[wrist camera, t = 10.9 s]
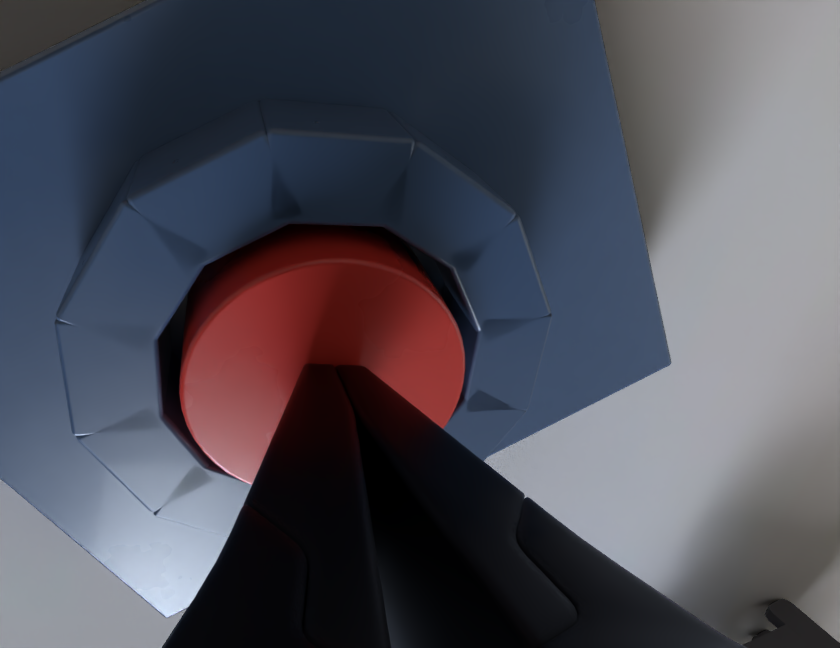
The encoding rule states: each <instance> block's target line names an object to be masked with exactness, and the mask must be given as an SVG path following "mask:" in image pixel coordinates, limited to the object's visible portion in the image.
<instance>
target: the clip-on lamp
mask: <svg viewBox="0 0 840 648" xmlns="http://www.w3.org/2000/svg"><path fill="white" fill-rule="evenodd" d="M765 616H766V618H767V619H768V620H769V621H770V622H771V623H772V624H773V625H774V626H776V627H777V629H775V630H773V631H769V630H766V631H763V632H761V633H760V634H758V635H756V636H755V637H753V639H752V641H750V642H748V643H746V644H744V645H743V646H745V647H747V648H840V643H839V642H838V641H836V640H835V639H834V638H833V637H832V636H831V635H829V634H828V633H827V632H826V631H825V630H823V629H822V628H821V627H820V626H819V625H817V624H816V623H815V622H814V621H813V620H812V619H810V618H809V617H808V616H807V615H806V614H804V613H803V612H802V611H801V610H800V609H798V608H797V607H796V606H795V605H794V604H792V603H791V602H789V601H788V600H785V599H780V600H778V601H776V602H774V603H772V604H770V605H769V607H768V609H767V610H766V612H765Z"/></svg>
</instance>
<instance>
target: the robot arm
mask: <svg viewBox="0 0 840 648" xmlns="http://www.w3.org/2000/svg"><path fill="white" fill-rule="evenodd" d="M524 497H525V496H524V493H522V492H521V491H520V490H519V489H517V488H516V487H515V486H514V485H512V484H511V483H510V482H509V481H507V480H506V479H505V478H504V477H502V476H501V475H500V474H499V473H497V472H496V471H495V470H494V469H492V468H491V467H490V466H489V465H487V464H486V463H485V462H484V461H482V460H481V459H480V458H479V457H477V456H476V455H475V454H474V453H472V452H471V451H470V450H469V449H467V448H466V447H465V446H464V445H462V444H461V443H460V442H459V441H457V440H456V439H455V438H454V437H452V436H451V435H450V434H449V433H447V432H446V431H445V430H444V429H442V428H441V427H440V426H439V425H437V424H436V423H435V422H434V421H432V420H431V419H430V418H429V417H427V416H426V415H425V414H424V413H422V412H421V411H420V410H419V409H417V408H416V407H415V406H414V405H412V404H411V403H410V402H409V401H407V400H406V399H405V398H404V397H402V396H401V395H400V394H399V393H397V392H396V391H395V390H394V389H392V388H391V387H390V386H389V385H387V384H386V383H385V382H384V381H382V380H381V379H380V378H379V377H377V376H376V375H375V374H374V373H372V372H371V371H370V370H369V369H367V368H366V367H364V366H359V365H338V366H336V367H334V366H333V365H330V364H311V363H308V364H305V365H304V366H303V368H302V371H301V373H300V375H299V378H298V380H297V382H296V385H295V387H294V389H293V391H292V394H291V396H290V398H289V401H288V403H287V405H286V408H285V410H284V412H283V414H282V417H281V419H280V421H279V424H278V426H277V428H276V431H275V433H274V435H273V437H272V440H271V442H270V444H269V447H268V449H267V451H266V454H265V456H264V458H263V461H262V463H261V465H260V467H259V470H258V472H257V474H256V477H255V479H254V481H253V484H252V486H251V488H250V490H249V493H248V495H247V497H246V500H245V502H244V504H243V507H242V508H241V510H240V512H239V515H238V517H237V519H236V522H235V524H234V526H233V528H232V530H231V532H230V534H229V537H228V539H227V541H226V543H225V545H224V547H223V549H222V551H221V553H220V555H219V557H218V559H217V561H216V563H215V564H214V566H213V568H212V569H211V571H210V573H209V574H208V576H207V578H206V579H205V581H204V583H203V584H202V586H201V588H200V589H199V591H198V593H197V594H196V596H195V598H194V599H193V601H192V602H191V604H190V605H189V607H188V608H187V610H186V611H185V613H184V614H183V616H182V618H181V619H180V621H179V622H178V624H177V625H176V627H175V628H174V630H173V631H172V633H171V634H170V636H169V637H168V639H167V640H166V642H165V644H164V645H163V647H162V648H747V647H745V646H743V645H741V644H739V643H737V642H735V641H733V640H731V639H729V638H727V637H726V636H724V635H722V634H721V633H719V632H718V631H716V630H714V629H713V628H711V627H710V626H708V625H707V624H705V623H704V622H702V621H701V620H699V619H698V618H697V617H695V616H694V615H692V614H691V613H689V612H688V611H686V610H685V609H683V608H682V607H680V606H679V605H677V604H676V603H674V602H673V601H671V600H670V599H669V598H667V597H666V596H664V595H663V594H661V593H660V592H658V591H657V590H655V589H654V588H652V587H651V586H649V585H648V584H646V583H645V582H643V581H642V580H641V579H639V578H638V577H636V576H635V575H633V574H632V573H630V572H629V571H627V570H626V569H624V568H623V567H621V566H620V565H618V564H617V563H616V562H614V561H613V560H611V559H610V558H609V557H607V556H606V555H604V554H603V553H601V552H600V551H599V550H597V549H596V548H594V547H593V546H591V545H590V544H589V543H587V542H586V541H584V540H583V539H582V538H580V537H579V536H578V535H576V534H575V533H574V532H572V531H571V530H570V529H568V528H567V527H566V526H565V525H563V524H562V523H561V522H559V521H558V520H557V519H555V518H554V517H553V516H552V515H550V514H549V513H548V512H546V511H545V510H544V509H543V508H541V507H540V506H539V505H538V504H536V503H535V502H534V501H533V500H531V499H530V498H528V497H526V498H525V499H524Z"/></svg>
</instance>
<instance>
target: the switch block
mask: <svg viewBox="0 0 840 648" xmlns="http://www.w3.org/2000/svg"><path fill="white" fill-rule="evenodd" d="M288 224H308V225H343V226H377V227H383V228H385V229H386V230H388V231H390V232H391V233H393V234H394V235H396V236H398V237H399V238H401V239H402V240H404V241H405V242H406V243H407V245H408V246H409V247H410V249H411V250H412V251H413V252H414V254H415V255H416V257H417V258H418V260H419V261H420V263H421V265H422V266H423V268H424V270H425V271H426V273H427V274H428V276H429V278H430V279H431V281H432V282H433V284H434V286H435V287H436V289H437V291H438V292H439V294H440V295H441V297H442V299H443V300H444V302H445V303H446V305H447V307H448V308H449V310H450V312H451V313H452V315H453V317H454V319H455V321H456V323H457V325H458V328H459V330H460V333H461V336H462V339H463V345H464V350H465V374H464V382H463V387H462V390H461V394H460V398H459V400H458V403H457V405H456V407H455V410H454V412H453V414H452V416H451V417H450V419H449V421H448V423H447V424H446V426H445V427H444V428H443V429H444V430H445V431H446V432H447V433H449V434H450V435H451V436H452V437H454V438H455V439H456V440H457V441H459V442H460V443H461V444H462V445H464V446H465V447H466V448H467V449H469V450H470V451H471V452H472V453H474V454H475V455H476V456H477V457H479V458H480V459H481V460H482V461H484V460H485V459H486V458H487V457H488V456H490V455H492V454H494V453H496V452H498V451H500V450H502V449H504V448H506V447H508V446H510V445H512V444H514V443H516V442H518V441H520V440H522V439H524V438H526V437H528V436H530V435H532V434H534V433H536V432H538V431H540V430H542V429H544V428H546V427H548V426H550V425H552V424H554V423H556V422H558V421H560V420H562V419H564V418H566V417H568V416H570V415H572V414H574V413H576V412H578V411H580V410H582V409H584V408H586V407H587V406H589V405H591V404H593V403H595V402H597V401H599V400H601V399H603V398H605V397H607V396H609V395H611V394H613V393H615V392H617V391H619V390H621V389H623V388H625V387H627V386H629V385H631V384H633V383H635V382H637V381H639V380H641V379H643V378H645V377H647V376H649V375H651V374H653V373H655V372H657V371H659V370H661V369H663V368H665V367H667V366H669V365H670V364H671V359H670V354H669V349H668V345H667V340H666V335H665V330H664V326H663V321H662V316H661V312H660V307H659V302H658V297H657V293H656V288H655V283H654V279H653V274H652V269H651V264H650V260H649V255H648V250H647V246H646V241H645V236H644V231H643V227H642V222H641V217H640V213H639V208H638V203H637V198H636V194H635V189H634V184H633V180H632V175H631V170H630V165H629V161H628V156H627V151H626V147H625V142H624V137H623V132H622V128H621V123H620V118H619V113H618V109H617V104H616V99H615V95H614V90H613V85H612V80H611V76H610V71H609V66H608V62H607V57H606V52H605V47H604V43H603V38H602V33H601V29H600V24H599V19H598V14H597V10H596V5H595V0H145V1H143V2H141V3H139V4H137V5H135V6H133V7H131V8H129V9H127V10H125V11H123V12H121V13H119V14H117V15H115V16H113V17H111V18H109V19H107V20H105V21H103V22H101V23H99V24H97V25H95V26H93V27H91V28H89V29H87V30H85V31H83V32H80V33H78V34H76V35H74V36H72V37H70V38H68V39H66V40H64V41H62V42H60V43H58V44H56V45H54V46H52V47H50V48H48V49H46V50H44V51H42V52H40V53H38V54H36V55H34V56H32V57H30V58H28V59H26V60H24V61H22V62H20V63H18V64H16V65H13V66H11V67H9V68H7V69H5V70H3V71H1V72H0V479H2V480H3V481H4V482H5V483H6V484H8V485H9V486H10V487H11V488H12V489H14V490H15V491H16V492H17V493H18V494H19V495H21V496H22V497H23V498H24V499H25V500H27V501H28V502H29V503H30V504H31V505H33V506H34V507H35V508H36V509H37V510H38V511H40V512H41V513H42V514H43V515H44V516H46V517H47V518H48V519H49V520H50V521H52V522H53V523H54V524H55V525H56V526H57V527H59V528H60V529H61V530H62V531H63V532H65V533H66V534H67V535H68V536H69V537H71V538H72V539H73V540H74V541H75V542H76V543H78V544H79V545H80V546H81V547H82V548H84V549H85V550H86V551H87V552H88V553H89V554H91V555H92V556H93V557H94V558H95V559H97V560H98V561H99V562H100V563H101V564H103V565H104V566H105V567H106V568H107V569H108V570H110V571H111V572H112V573H113V574H114V575H116V576H117V577H118V578H119V579H120V580H122V581H123V582H124V583H125V584H126V585H127V586H129V587H130V588H131V589H132V590H133V591H135V592H136V593H137V594H138V595H139V596H141V597H142V598H143V599H144V600H145V601H146V602H148V603H149V604H150V605H151V606H152V607H154V608H155V609H156V610H157V611H158V612H160V613H161V614H162V615H163V616H164V617H166V618H168V617H170V616H172V615H174V614H176V613H178V612H180V611H182V610H184V609H186V608H188V607H189V605H190V604H191V602H192V601H193V599H194V598H195V596H196V594H197V593H198V591H199V589H200V588H201V586H202V584H203V583H204V581H205V579H206V578H207V576H208V574H209V573H210V571H211V569H212V568H213V566H214V564H215V563H216V561H217V559H218V557H219V555H220V553H221V551H222V549H223V547H224V545H225V543H226V541H227V539H228V537H229V534H230V532H231V530H232V528H233V526H234V524H235V522H236V519H237V517H238V515H239V512H240V510H241V508H242V507H243V504H244V502H245V500H246V497H247V495H248V493H249V490H250V488H251V486H252V485H250V484H248V483H245V482H243V481H241V480H239V479H237V478H235V477H234V476H232V475H230V474H228V473H227V472H225V471H224V470H223V469H221V468H220V467H219V466H217V465H216V464H215V463H214V462H213V461H212V460H211V459H210V458H209V457H208V456H207V455H206V454H205V453H204V452H203V451H202V449H201V448H200V447H199V445H198V444H197V443H196V441H195V440H194V438H193V436H192V435H191V433H190V431H189V429H188V427H187V425H186V422H185V419H184V416H183V413H182V410H181V403H180V396H179V384H180V368H181V358H182V347H183V336H184V325H185V315H186V306H187V301H188V296H189V292H190V289H191V287H192V285H193V284H194V282H195V280H196V279H197V277H198V276H199V274H200V273H201V271H202V270H203V268H204V266H206V265H208V264H210V263H212V262H214V261H216V260H218V259H220V258H222V257H224V256H226V255H228V254H230V253H232V252H234V251H236V250H238V249H240V248H242V247H244V246H246V245H248V244H250V243H252V242H254V241H256V240H258V239H260V238H262V237H264V236H266V235H268V234H270V233H272V232H274V231H276V230H278V229H280V228H282V227H284V226H286V225H288Z"/></svg>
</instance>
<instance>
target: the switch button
mask: <svg viewBox="0 0 840 648" xmlns="http://www.w3.org/2000/svg"><path fill="white" fill-rule="evenodd" d="M308 363H311V364H330V365H333V366H334V367H336V366H338V365H359V366H364V367H366V368H367V369H369V370H370V371H371V372H372V373H374V374H375V375H376V376H377V377H379V378H380V379H381V380H382V381H384V382H385V383H386V384H387V385H389V386H390V387H391V388H392V389H394V390H395V391H396V392H397V393H399V394H400V395H401V396H402V397H404V398H405V399H406V400H407V401H409V402H410V403H411V404H412V405H414V406H415V407H416V408H417V409H419V410H420V411H421V412H422V413H424V414H425V415H426V416H427V417H429V418H430V419H431V420H432V421H434V422H435V423H436V424H437V425H439V426H440V427H441V428H442V429H443V428H444V427H445V426H446V424H447V423H448V421H449V419H450V417H451V416H452V414H453V412H454V410H455V407H456V405H457V403H458V400H459V398H460V394H461V390H462V387H463V382H464V374H465V350H464V345H463V339H462V336H461V333H460V330H459V328H458V325H457V323H456V321H455V319H454V317H453V315H452V313H451V312H450V310H449V308H448V307H447V305H446V303H445V302H444V300H443V299H442V297H441V295H440V294H439V292H438V291H437V289H436V287H435V286H434V284H433V282H432V281H431V279H430V278H429V276H428V274H427V273H426V271H425V270H424V268H423V266H422V265H421V263H420V261H419V260H418V258H417V257H416V255H415V254H414V252H413V251H412V250H411V249H410V247H409V246H408V245H407V243H406V242H405V241H404V240H402V239H401V238H399V237H398V236H396V235H394V234H393V233H391V232H390V231H388V230H386V229H385V228H383V227H377V226H343V225H308V224H288V225H286V226H284V227H282V228H280V229H278V230H276V231H274V232H272V233H270V234H268V235H266V236H264V237H262V238H260V239H258V240H256V241H254V242H252V243H250V244H248V245H246V246H244V247H242V248H240V249H238V250H236V251H234V252H232V253H230V254H228V255H226V256H224V257H222V258H220V259H218V260H216V261H214V262H212V263H210V264H208V265H206V266H204V268H203V270H202V271H201V273H200V274H199V276H198V277H197V279H196V280H195V282H194V284H193V285H192V287H191V289H190V292H189V296H188V301H187V306H186V315H185V325H184V336H183V347H182V358H181V368H180V384H179V396H180V403H181V410H182V413H183V416H184V419H185V422H186V425H187V427H188V429H189V431H190V433H191V435H192V436H193V438H194V440H195V441H196V443H197V444H198V445H199V447H200V448H201V449H202V451H203V452H204V453H205V454H206V455H207V456H208V457H209V458H210V459H211V460H212V461H213V462H214V463H215V464H216V465H217V466H219V467H220V468H221V469H223V470H224V471H225V472H227V473H228V474H230V475H232V476H234V477H235V478H237V479H239V480H241V481H243V482H245V483H248V484H250V485H252V484H253V481H254V479H255V477H256V474H257V472H258V470H259V467H260V465H261V463H262V461H263V458H264V456H265V454H266V451H267V449H268V447H269V444H270V442H271V440H272V437H273V435H274V433H275V431H276V428H277V426H278V424H279V421H280V419H281V417H282V414H283V412H284V410H285V408H286V405H287V403H288V401H289V398H290V396H291V394H292V391H293V389H294V387H295V385H296V382H297V380H298V378H299V375H300V373H301V371H302V368H303V366H304V365H305V364H308Z"/></svg>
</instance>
